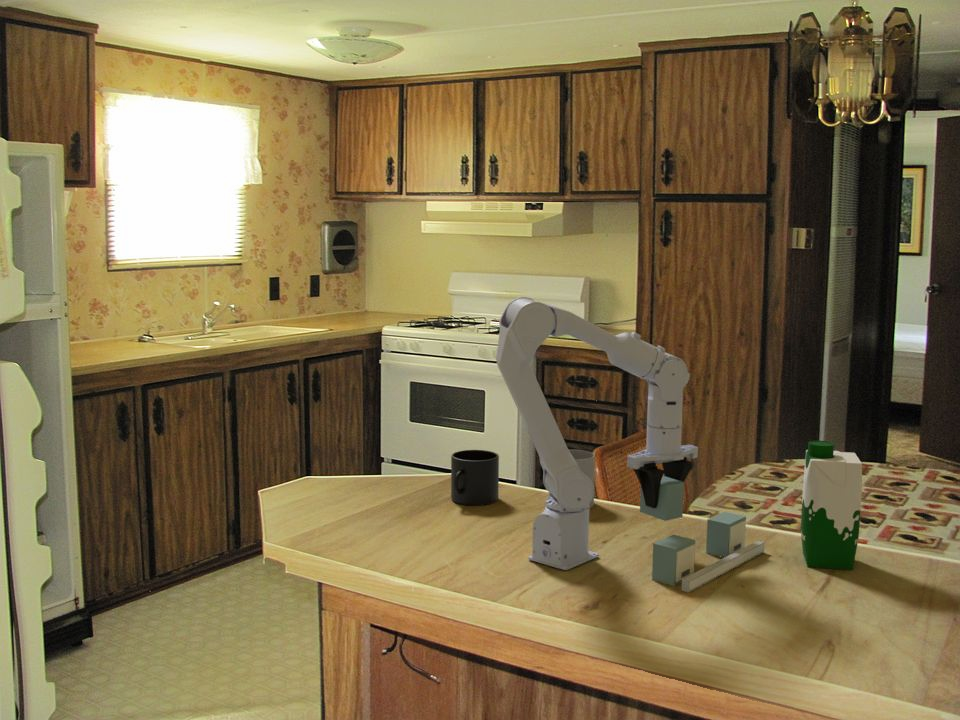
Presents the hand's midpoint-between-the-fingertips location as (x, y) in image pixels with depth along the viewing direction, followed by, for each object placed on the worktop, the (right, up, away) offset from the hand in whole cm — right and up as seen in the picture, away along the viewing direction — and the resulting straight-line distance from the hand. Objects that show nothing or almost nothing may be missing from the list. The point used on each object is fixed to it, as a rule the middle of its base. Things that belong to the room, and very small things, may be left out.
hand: (661, 504), depth 174 cm
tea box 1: (0, -2, 0) cm, 2 cm away
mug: (-32, -4, +31) cm, 45 cm away
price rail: (+9, -10, -7) cm, 15 cm away
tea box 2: (0, -10, -11) cm, 15 cm away
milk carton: (+27, -9, -3) cm, 29 cm away
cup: (-12, -4, +29) cm, 32 cm away
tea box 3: (+11, -8, +2) cm, 14 cm away
